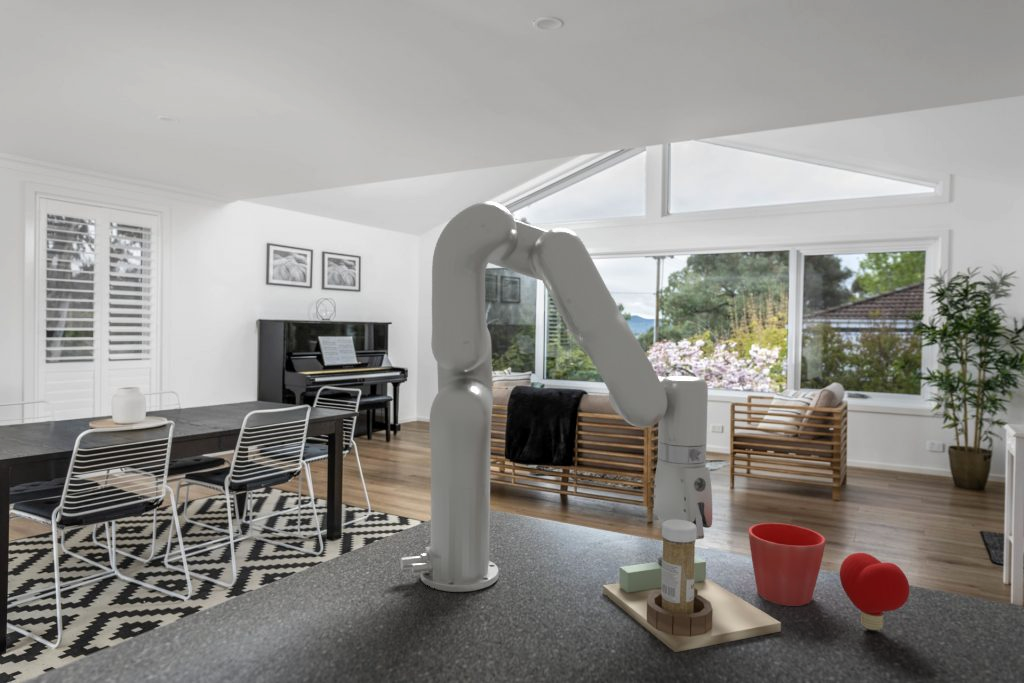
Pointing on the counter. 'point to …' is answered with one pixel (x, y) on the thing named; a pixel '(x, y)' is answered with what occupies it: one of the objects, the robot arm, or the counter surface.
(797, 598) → the flower pot
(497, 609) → the counter surface
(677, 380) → the robot arm
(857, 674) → the counter surface
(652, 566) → the bar
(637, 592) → the board
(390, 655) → the counter surface
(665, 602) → the sprinkles bottle
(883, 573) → the red heart figurine
